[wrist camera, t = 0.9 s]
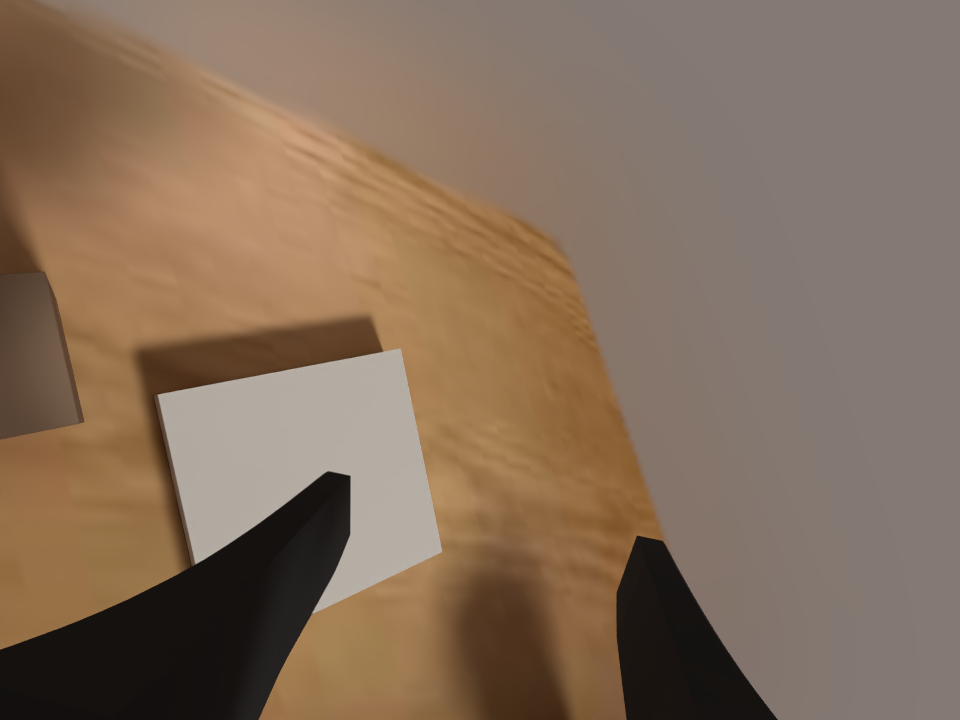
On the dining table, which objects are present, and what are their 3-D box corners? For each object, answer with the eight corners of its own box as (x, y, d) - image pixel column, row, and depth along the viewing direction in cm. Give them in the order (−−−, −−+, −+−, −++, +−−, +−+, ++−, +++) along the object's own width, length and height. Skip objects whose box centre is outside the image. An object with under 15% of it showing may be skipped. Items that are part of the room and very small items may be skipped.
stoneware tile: (208, 642, 23) (216, 659, 21) (153, 396, 22) (157, 394, 21) (423, 544, 29) (442, 551, 27) (384, 352, 29) (400, 348, 27)
